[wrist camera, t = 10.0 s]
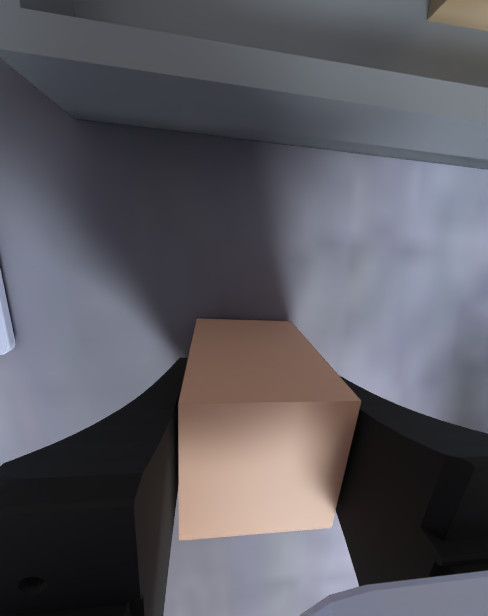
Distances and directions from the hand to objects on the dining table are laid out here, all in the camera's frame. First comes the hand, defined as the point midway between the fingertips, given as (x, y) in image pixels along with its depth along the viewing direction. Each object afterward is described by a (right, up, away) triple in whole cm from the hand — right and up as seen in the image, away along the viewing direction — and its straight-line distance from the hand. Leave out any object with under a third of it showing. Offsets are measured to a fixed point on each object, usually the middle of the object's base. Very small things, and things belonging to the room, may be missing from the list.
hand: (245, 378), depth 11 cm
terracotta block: (0, 0, +1) cm, 1 cm away
